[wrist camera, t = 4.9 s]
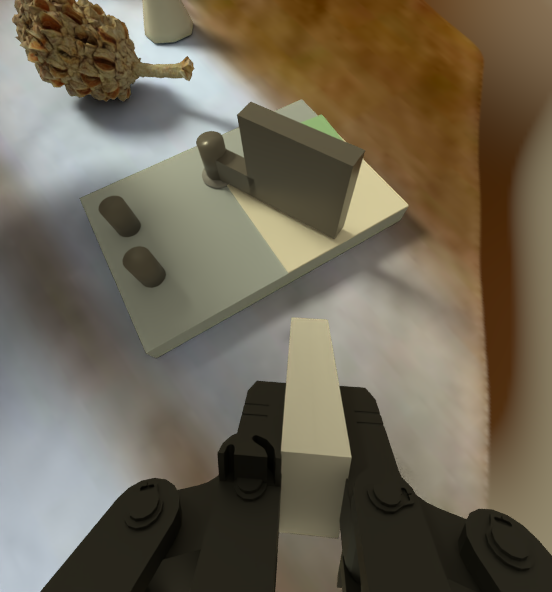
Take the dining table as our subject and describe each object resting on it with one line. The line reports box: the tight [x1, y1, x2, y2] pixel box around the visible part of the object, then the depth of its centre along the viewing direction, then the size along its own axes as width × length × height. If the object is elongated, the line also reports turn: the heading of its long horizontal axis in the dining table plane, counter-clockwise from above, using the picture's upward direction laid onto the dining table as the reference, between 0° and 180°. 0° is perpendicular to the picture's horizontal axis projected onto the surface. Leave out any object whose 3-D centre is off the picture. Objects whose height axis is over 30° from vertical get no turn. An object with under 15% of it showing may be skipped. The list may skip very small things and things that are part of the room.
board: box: [80, 99, 409, 358], centre depth 28 cm, size 26×18×5 cm
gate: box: [196, 102, 365, 239], centre depth 24 cm, size 15×2×8 cm, turn 56°
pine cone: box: [12, 0, 194, 102], centre depth 34 cm, size 22×10×10 cm, turn 76°
